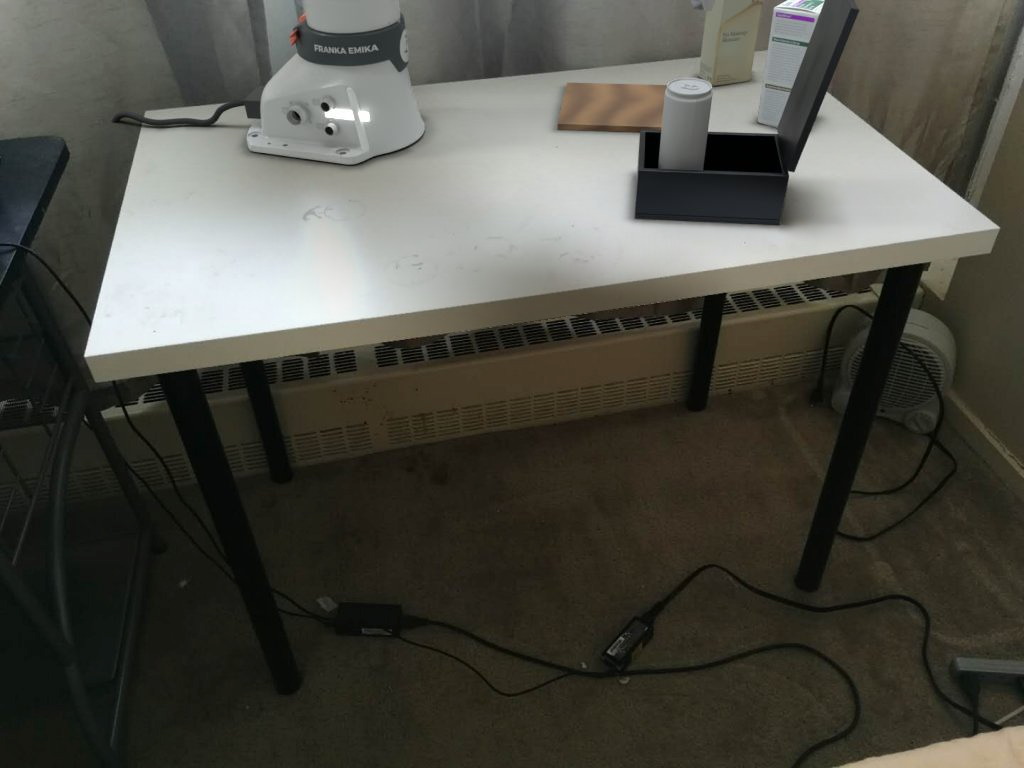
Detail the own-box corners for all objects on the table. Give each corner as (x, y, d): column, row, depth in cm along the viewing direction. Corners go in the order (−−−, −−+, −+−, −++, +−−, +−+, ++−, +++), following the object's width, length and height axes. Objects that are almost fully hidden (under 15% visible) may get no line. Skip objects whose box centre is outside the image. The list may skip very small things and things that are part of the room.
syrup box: (798, 133, 107) (822, 12, 98) (754, 122, 110) (773, 4, 101) (816, 118, 111) (841, -1, 101) (773, 108, 114) (793, -8, 104)
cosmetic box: (712, 87, 120) (724, -5, 112) (696, 76, 123) (707, -14, 115) (752, 80, 121) (766, -11, 113) (735, 70, 124) (748, -20, 116)
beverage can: (662, 179, 98) (672, 74, 90) (704, 186, 96) (718, 80, 88) (650, 198, 94) (660, 91, 86) (694, 206, 93) (707, 97, 85)
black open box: (634, 218, 92) (638, 170, 89) (636, 175, 100) (640, 129, 96) (779, 225, 90) (789, 176, 87) (770, 180, 98) (779, 133, 95)
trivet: (557, 129, 110) (557, 123, 110) (566, 87, 121) (566, 82, 120) (667, 133, 108) (668, 127, 108) (667, 90, 119) (668, 84, 119)
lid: (851, 8, 76) (859, 9, 76) (833, -25, 84) (841, -23, 84) (786, 171, 87) (794, 172, 87) (776, 128, 94) (783, 130, 94)
